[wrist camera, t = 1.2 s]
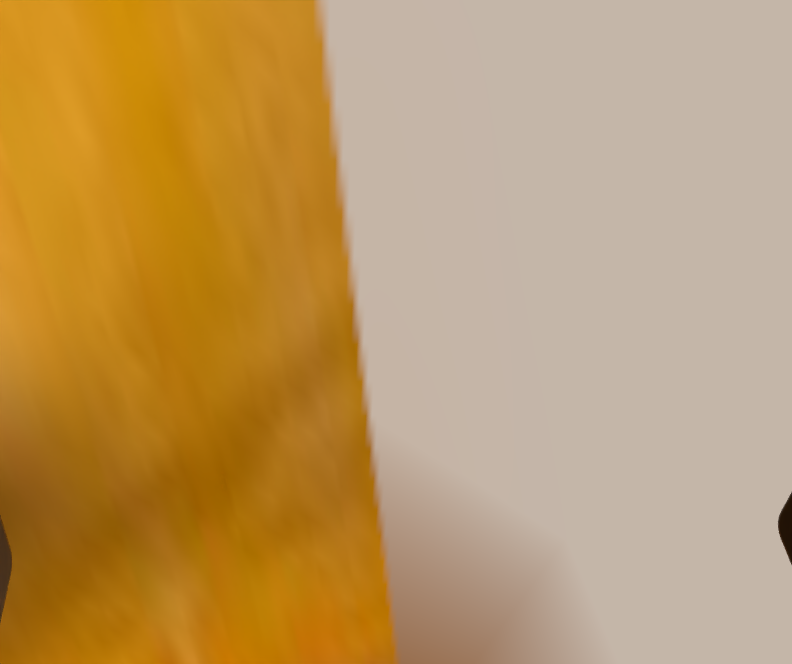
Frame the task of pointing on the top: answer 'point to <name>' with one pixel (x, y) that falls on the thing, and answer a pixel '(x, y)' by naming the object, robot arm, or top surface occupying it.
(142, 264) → the top surface
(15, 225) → the top surface
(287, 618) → the top surface
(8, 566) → the robot arm
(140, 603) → the top surface
